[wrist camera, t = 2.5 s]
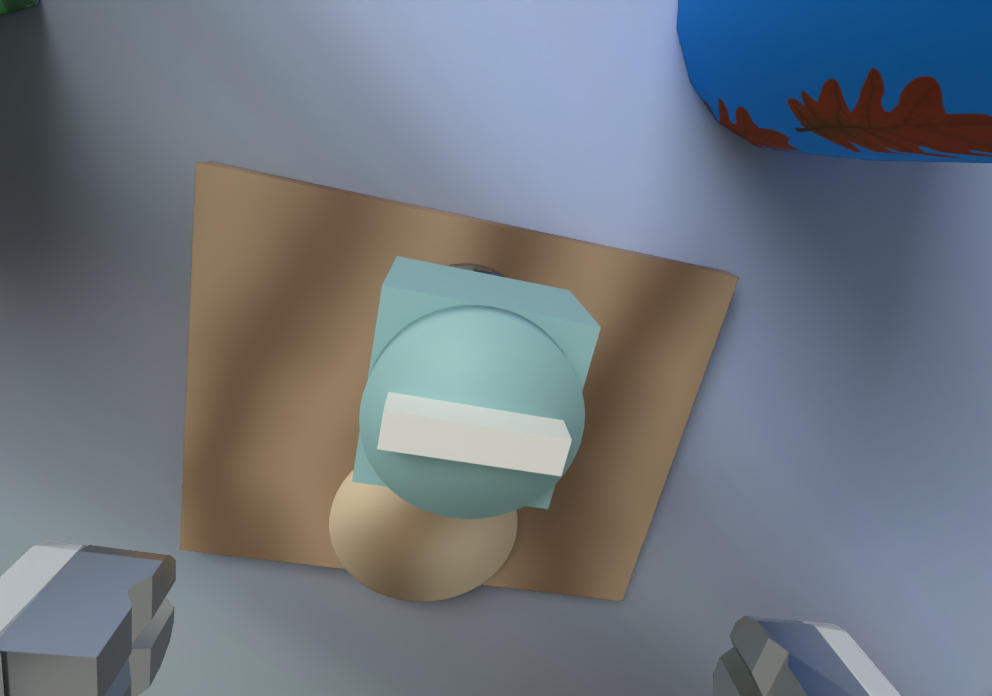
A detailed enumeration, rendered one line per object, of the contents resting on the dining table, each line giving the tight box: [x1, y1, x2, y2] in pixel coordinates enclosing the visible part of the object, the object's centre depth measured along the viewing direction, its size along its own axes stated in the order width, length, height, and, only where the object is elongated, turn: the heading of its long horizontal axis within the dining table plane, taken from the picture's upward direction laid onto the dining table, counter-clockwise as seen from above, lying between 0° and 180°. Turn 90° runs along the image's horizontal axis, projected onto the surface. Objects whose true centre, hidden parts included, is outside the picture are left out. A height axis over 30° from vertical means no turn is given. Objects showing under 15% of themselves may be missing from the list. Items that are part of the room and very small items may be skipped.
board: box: [180, 162, 739, 602], centre depth 23 cm, size 20×17×2 cm
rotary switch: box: [352, 256, 601, 519], centre depth 16 cm, size 6×6×6 cm
